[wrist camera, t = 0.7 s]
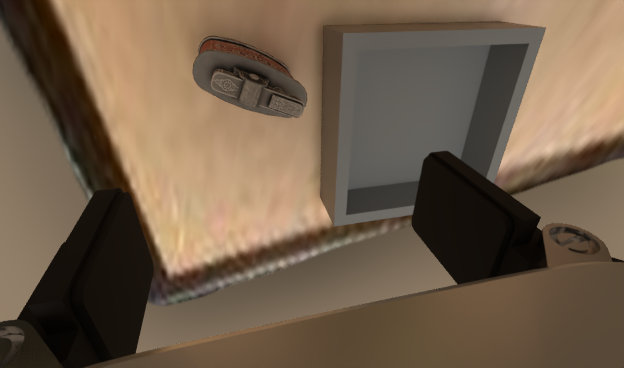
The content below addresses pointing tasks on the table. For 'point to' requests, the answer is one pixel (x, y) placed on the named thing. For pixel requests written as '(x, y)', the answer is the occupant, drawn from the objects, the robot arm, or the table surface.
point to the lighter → (248, 78)
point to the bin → (415, 107)
